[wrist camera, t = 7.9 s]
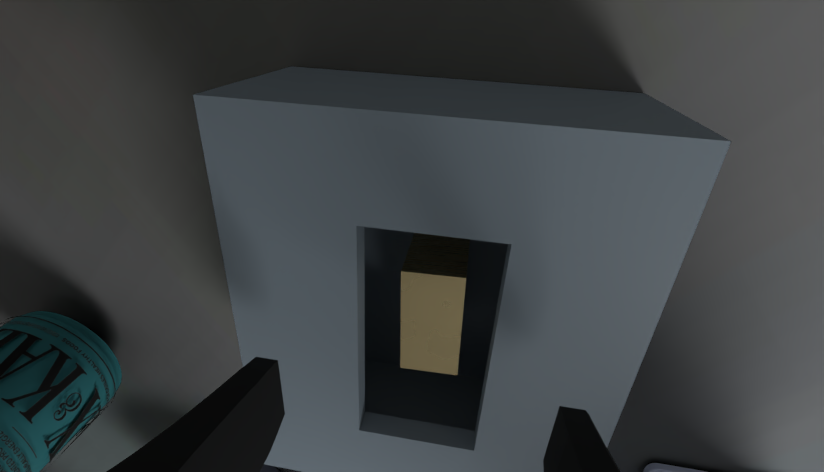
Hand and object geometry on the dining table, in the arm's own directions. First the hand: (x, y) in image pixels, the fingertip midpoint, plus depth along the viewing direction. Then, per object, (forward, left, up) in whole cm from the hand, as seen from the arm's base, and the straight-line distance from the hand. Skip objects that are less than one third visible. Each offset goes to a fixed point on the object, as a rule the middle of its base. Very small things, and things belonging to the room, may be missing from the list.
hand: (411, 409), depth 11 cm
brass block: (0, 0, -7) cm, 7 cm away
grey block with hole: (0, 0, -8) cm, 8 cm away
